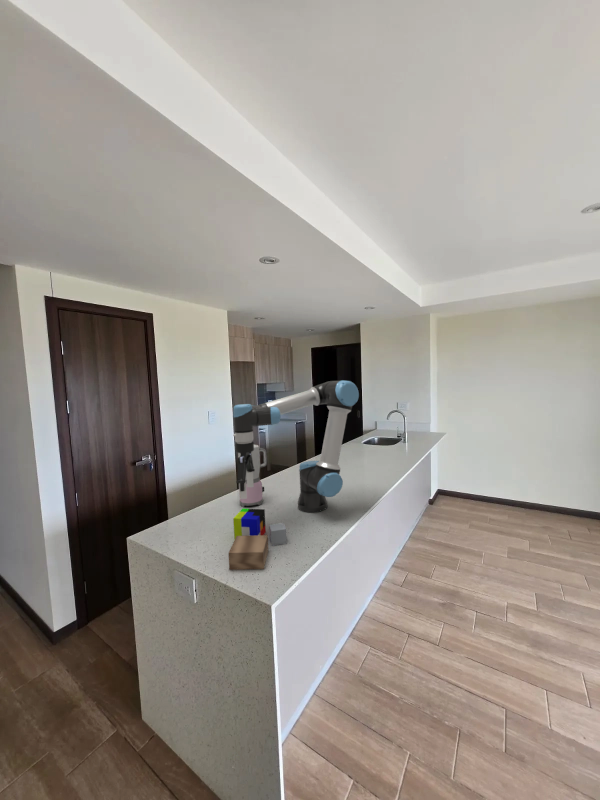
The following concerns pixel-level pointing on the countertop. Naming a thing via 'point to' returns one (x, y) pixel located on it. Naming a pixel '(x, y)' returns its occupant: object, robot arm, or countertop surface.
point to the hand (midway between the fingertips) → (247, 492)
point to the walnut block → (248, 552)
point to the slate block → (277, 534)
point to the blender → (255, 479)
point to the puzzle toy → (249, 522)
